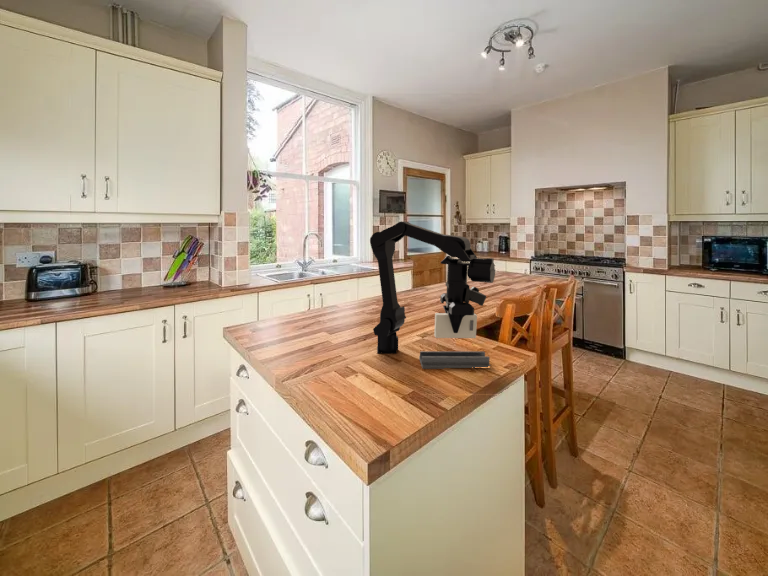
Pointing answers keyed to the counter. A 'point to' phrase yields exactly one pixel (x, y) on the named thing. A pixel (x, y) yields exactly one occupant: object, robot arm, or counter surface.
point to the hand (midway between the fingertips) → (454, 331)
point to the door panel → (446, 331)
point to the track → (453, 359)
